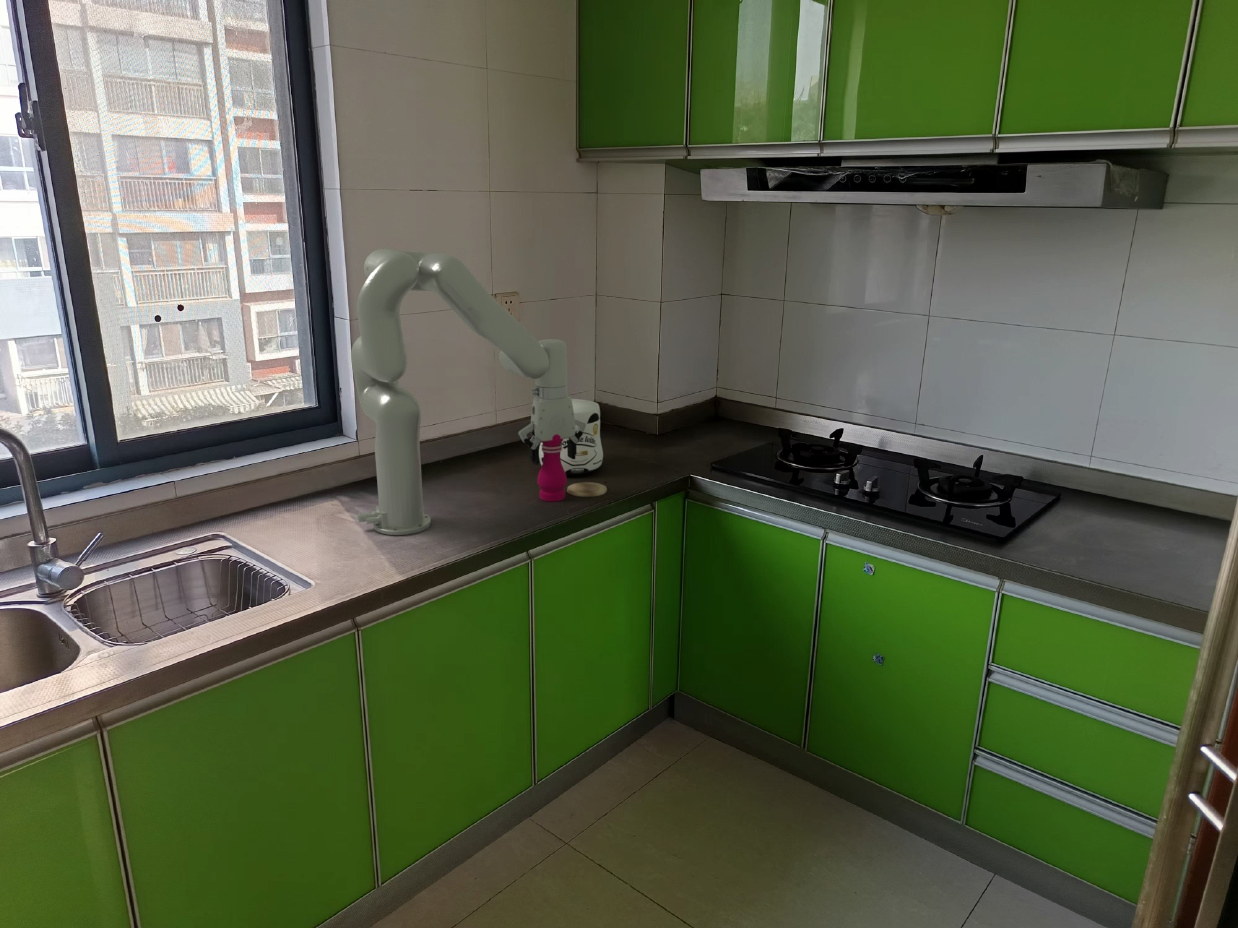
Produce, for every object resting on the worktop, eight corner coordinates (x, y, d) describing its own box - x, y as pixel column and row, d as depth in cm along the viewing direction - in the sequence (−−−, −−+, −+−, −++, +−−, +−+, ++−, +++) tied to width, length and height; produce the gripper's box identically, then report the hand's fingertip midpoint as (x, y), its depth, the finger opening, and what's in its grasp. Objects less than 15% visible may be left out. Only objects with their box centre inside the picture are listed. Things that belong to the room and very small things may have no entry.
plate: (577, 499, 218) (577, 496, 218) (560, 487, 226) (560, 485, 226) (613, 493, 222) (613, 491, 222) (595, 482, 231) (595, 479, 231)
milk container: (575, 483, 230) (575, 416, 224) (525, 471, 240) (524, 406, 234) (615, 468, 243) (616, 404, 238) (567, 457, 253) (567, 395, 248)
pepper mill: (572, 496, 220) (572, 417, 214) (556, 504, 214) (555, 424, 208) (548, 491, 224) (547, 413, 218) (531, 499, 218) (530, 419, 212)
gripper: (523, 399, 204) (526, 470, 209) (591, 391, 212) (592, 459, 217) (511, 393, 211) (514, 461, 216) (577, 385, 218) (578, 452, 223)
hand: (553, 460), depth 216 cm, fingers open, 9 cm apart
